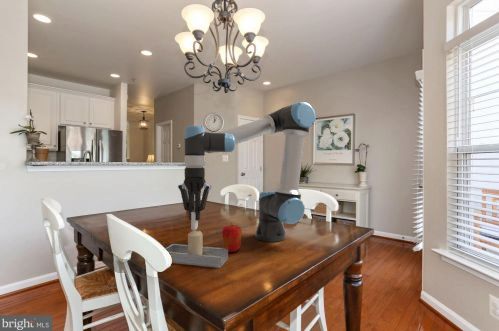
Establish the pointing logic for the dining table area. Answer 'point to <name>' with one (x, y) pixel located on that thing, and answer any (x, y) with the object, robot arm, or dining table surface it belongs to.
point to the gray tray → (198, 256)
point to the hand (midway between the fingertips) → (194, 228)
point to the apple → (232, 237)
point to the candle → (195, 242)
